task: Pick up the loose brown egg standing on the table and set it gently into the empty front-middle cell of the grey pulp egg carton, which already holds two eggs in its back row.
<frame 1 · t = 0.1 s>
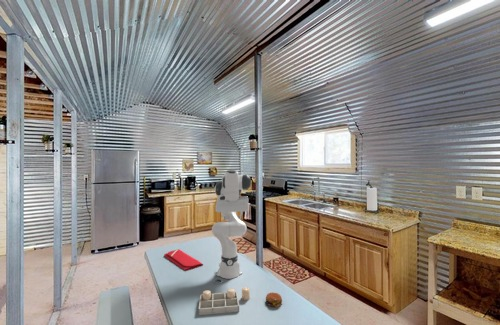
hand: (232, 218, 146), 48 cm above the table, fingers open, 8 cm apart
carton: (219, 306, 136), on the table
egg b: (231, 300, 140), point 1 cm above the table, touching carton
egg: (245, 299, 143), on the table
burger: (273, 303, 139), on the table
egg a: (206, 302, 138), point 1 cm above the table, touching carton
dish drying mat: (182, 261, 201), on the table
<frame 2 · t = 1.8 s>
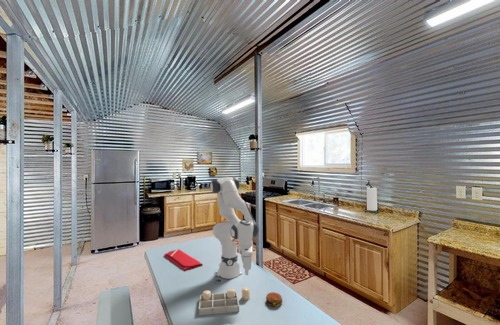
hand: (245, 271, 143), 17 cm above the table, fingers open, 8 cm apart
nothing on the table moved.
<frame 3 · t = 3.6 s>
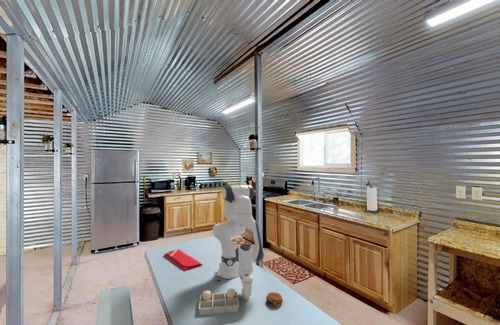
hand: (245, 295, 143), 2 cm above the table, fingers closed on egg, 5 cm apart
egg: (245, 299, 143), on the table, touching gripper
everything else where it was.
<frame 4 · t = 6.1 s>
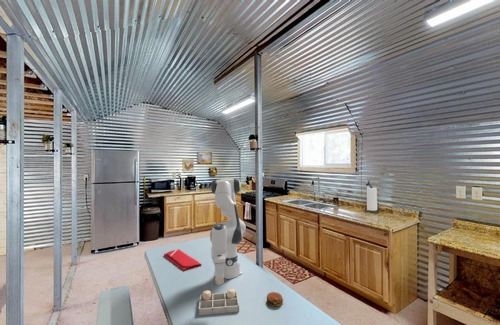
hand: (219, 278, 133), 17 cm above the table, fingers closed on egg, 5 cm apart
egg: (219, 282, 133), point 15 cm above the table, touching gripper
everything else where it was.
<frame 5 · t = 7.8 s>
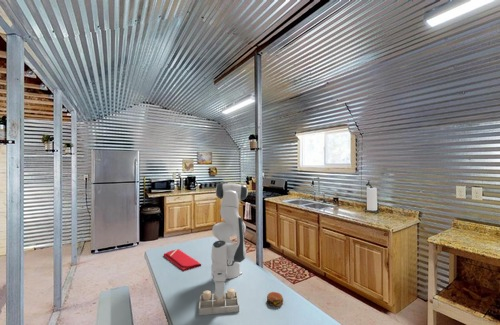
hand: (219, 296, 132), 8 cm above the table, fingers closed on egg, 5 cm apart
egg: (219, 300, 132), point 6 cm above the table, touching gripper
everything else where it was.
when the fingers open (5 cm above the table, at t = 8.9 s): egg drops 2 cm, resting on carton.
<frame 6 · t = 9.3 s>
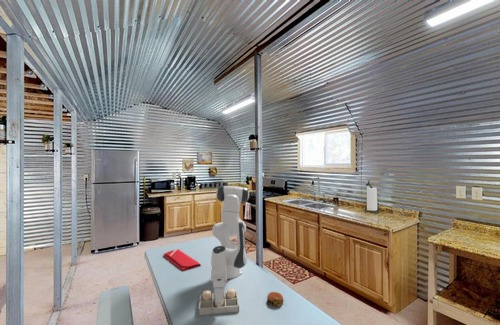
hand: (219, 301, 133), 5 cm above the table, fingers open, 8 cm apart
egg: (219, 308, 133), point 1 cm above the table, touching carton
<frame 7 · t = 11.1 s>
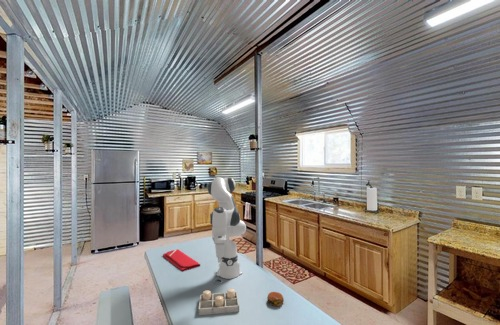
hand: (219, 258, 141), 25 cm above the table, fingers open, 8 cm apart
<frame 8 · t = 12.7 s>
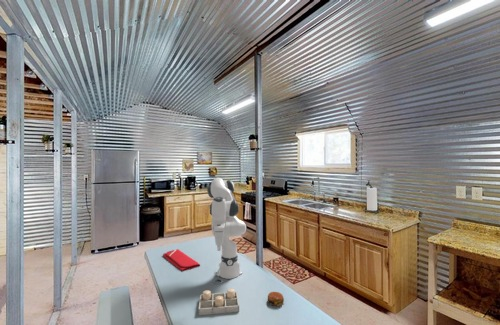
hand: (218, 247, 143), 31 cm above the table, fingers open, 8 cm apart
at the end: egg 0.1 cm from the target spot on the carton, point 0.6 cm above the carton's base; egg tilted 0°; the gripper is holding nothing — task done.
